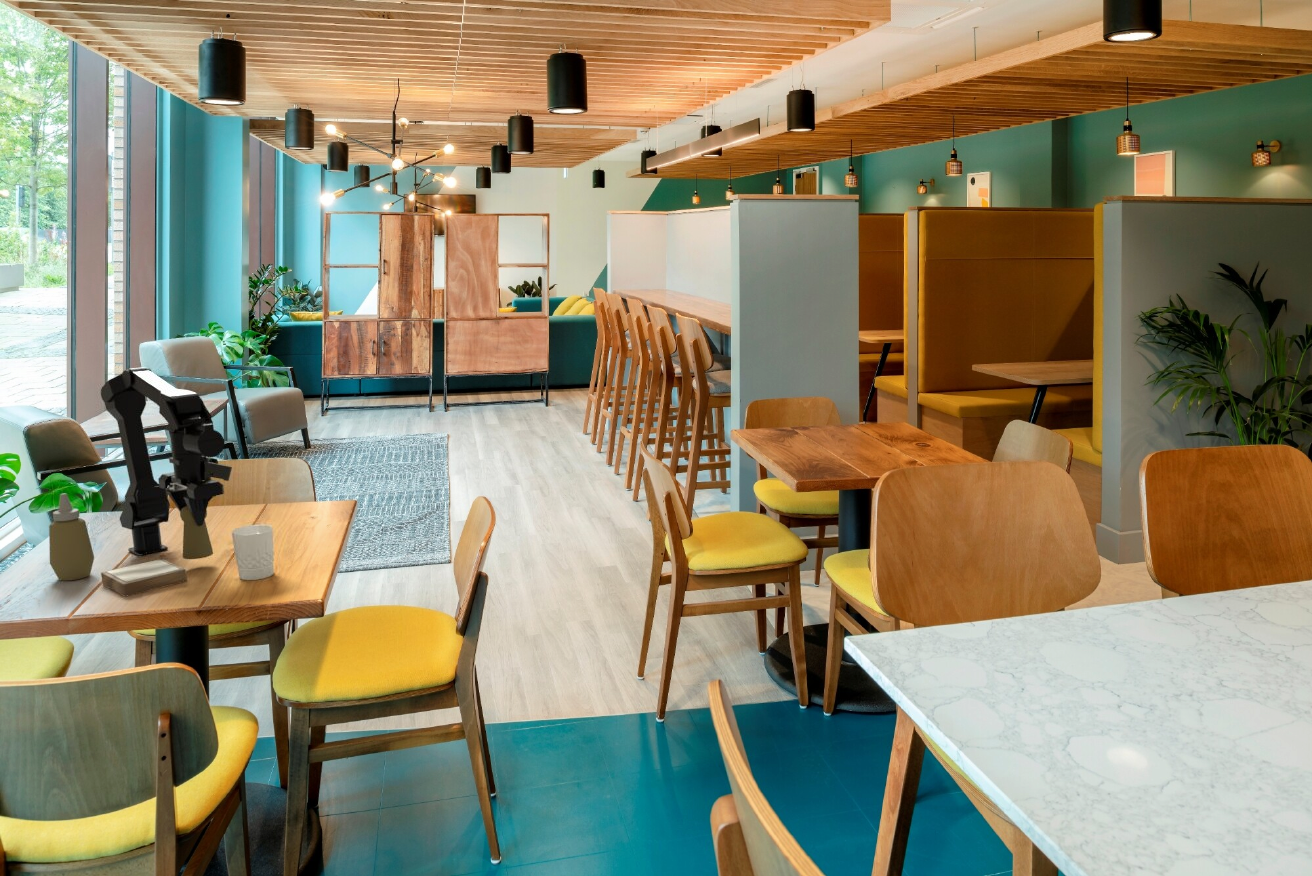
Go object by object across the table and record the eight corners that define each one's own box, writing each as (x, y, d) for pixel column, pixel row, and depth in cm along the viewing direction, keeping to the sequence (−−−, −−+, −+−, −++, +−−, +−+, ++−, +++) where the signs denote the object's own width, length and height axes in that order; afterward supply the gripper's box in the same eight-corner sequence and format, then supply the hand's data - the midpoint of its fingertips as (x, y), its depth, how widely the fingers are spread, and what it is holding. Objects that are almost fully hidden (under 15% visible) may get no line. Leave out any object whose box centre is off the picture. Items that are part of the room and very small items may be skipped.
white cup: (284, 571, 206) (280, 526, 204) (258, 583, 198) (254, 536, 197) (254, 568, 208) (250, 523, 207) (227, 579, 201) (223, 533, 199)
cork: (201, 559, 206) (196, 509, 204) (176, 558, 207) (170, 508, 205) (219, 551, 212) (214, 502, 210) (194, 550, 213) (189, 501, 211)
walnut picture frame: (102, 584, 200) (100, 571, 199) (162, 569, 208) (161, 557, 208) (125, 596, 192) (123, 583, 191) (186, 581, 200) (185, 568, 200)
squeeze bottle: (50, 585, 199) (38, 500, 196) (53, 574, 206) (42, 492, 203) (95, 579, 203) (85, 495, 200) (97, 568, 210) (86, 487, 207)
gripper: (244, 451, 205) (251, 522, 208) (205, 442, 218) (212, 509, 220) (191, 460, 197) (199, 534, 200) (153, 449, 209) (161, 519, 212)
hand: (194, 523), depth 208 cm, fingers closed on cork, 5 cm apart
